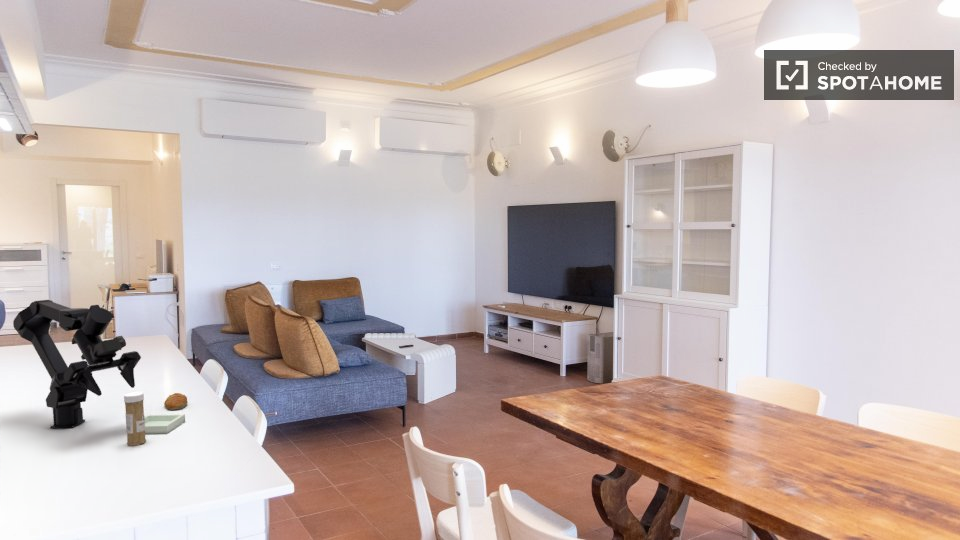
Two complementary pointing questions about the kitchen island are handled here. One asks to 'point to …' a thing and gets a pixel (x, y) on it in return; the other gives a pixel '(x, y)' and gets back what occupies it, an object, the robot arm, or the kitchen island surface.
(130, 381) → the robot arm
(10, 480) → the kitchen island surface
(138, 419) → the sprinkles bottle
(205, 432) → the kitchen island surface
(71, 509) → the kitchen island surface
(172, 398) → the pastry
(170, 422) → the tray
